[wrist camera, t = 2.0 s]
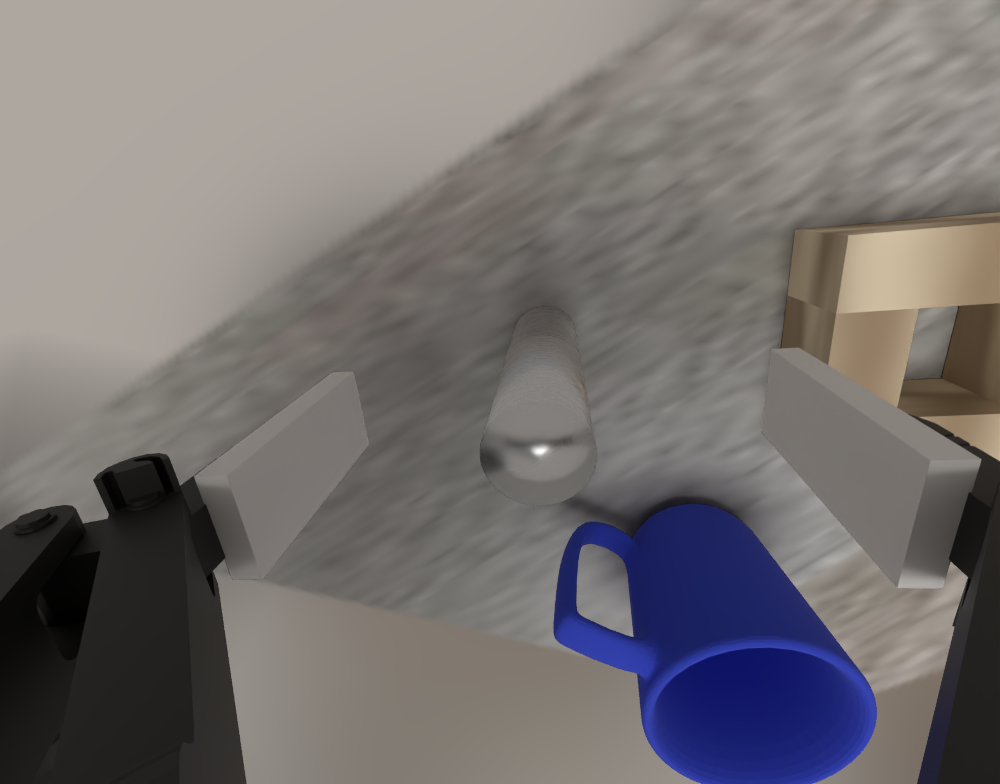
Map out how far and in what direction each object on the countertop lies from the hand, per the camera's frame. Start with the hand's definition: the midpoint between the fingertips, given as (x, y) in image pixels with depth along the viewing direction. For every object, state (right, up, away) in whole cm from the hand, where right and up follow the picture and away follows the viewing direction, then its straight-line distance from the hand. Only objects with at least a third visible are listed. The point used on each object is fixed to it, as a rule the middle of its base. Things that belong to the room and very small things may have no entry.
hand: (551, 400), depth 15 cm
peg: (+1, +3, +8) cm, 9 cm away
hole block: (+16, +3, +6) cm, 18 cm away
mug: (+7, -8, +12) cm, 16 cm away
